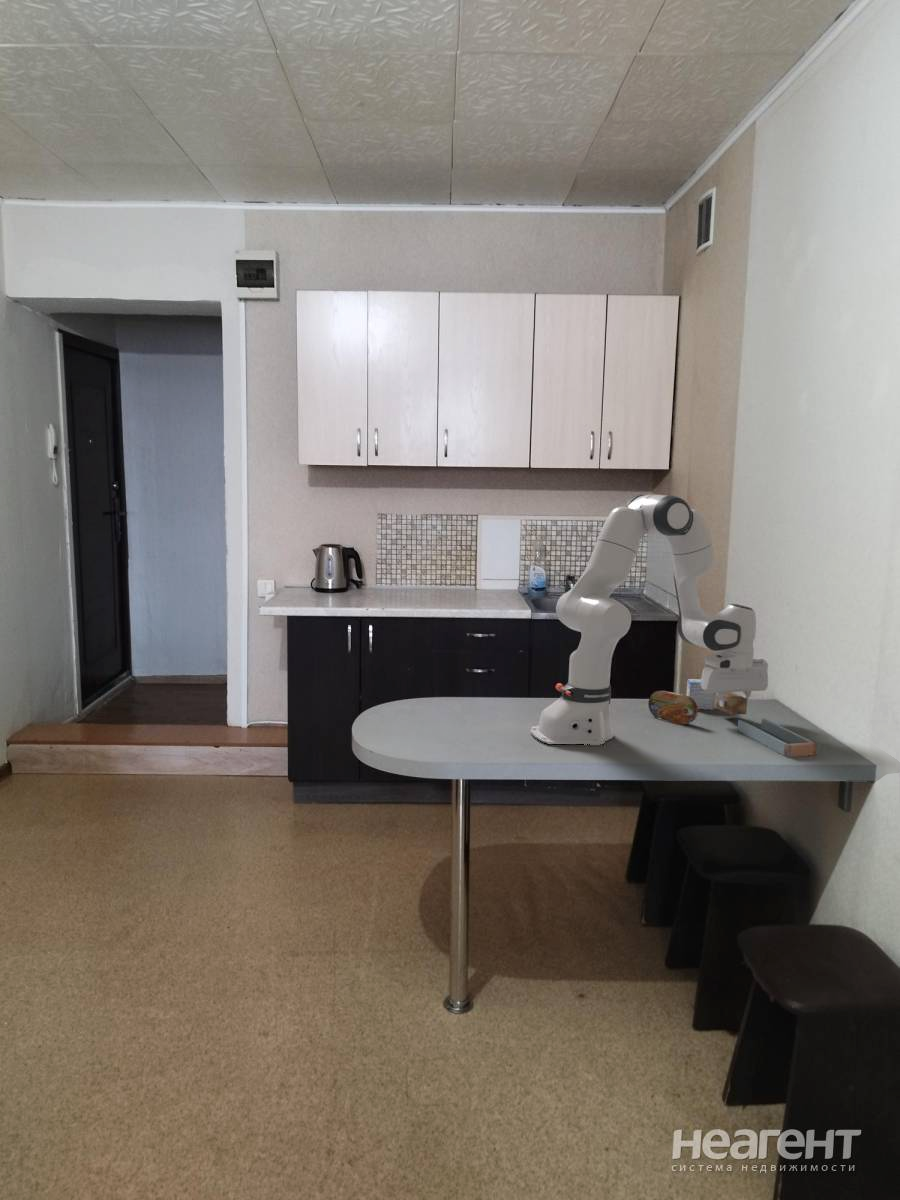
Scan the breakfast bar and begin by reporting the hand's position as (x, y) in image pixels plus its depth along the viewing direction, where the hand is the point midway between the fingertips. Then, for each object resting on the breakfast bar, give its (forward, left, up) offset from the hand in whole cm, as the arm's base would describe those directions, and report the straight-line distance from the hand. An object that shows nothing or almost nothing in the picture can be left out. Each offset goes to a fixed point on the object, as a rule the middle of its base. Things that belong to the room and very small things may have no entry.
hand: (732, 705), depth 238 cm
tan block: (0, +1, -2) cm, 2 cm away
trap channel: (0, -20, -4) cm, 20 cm away
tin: (-18, +3, -5) cm, 18 cm away
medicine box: (-3, +13, -5) cm, 14 cm away
